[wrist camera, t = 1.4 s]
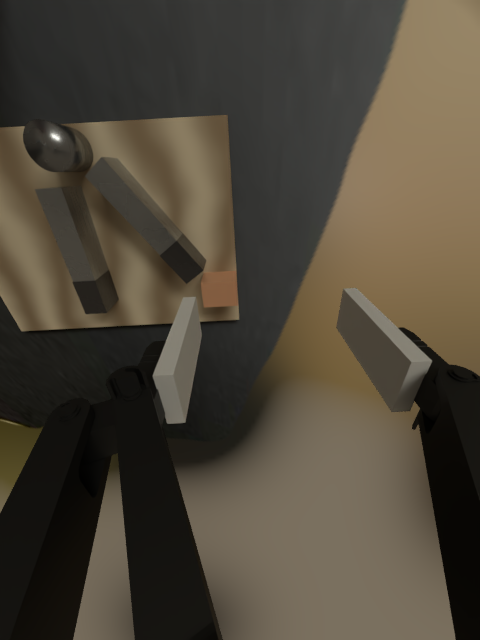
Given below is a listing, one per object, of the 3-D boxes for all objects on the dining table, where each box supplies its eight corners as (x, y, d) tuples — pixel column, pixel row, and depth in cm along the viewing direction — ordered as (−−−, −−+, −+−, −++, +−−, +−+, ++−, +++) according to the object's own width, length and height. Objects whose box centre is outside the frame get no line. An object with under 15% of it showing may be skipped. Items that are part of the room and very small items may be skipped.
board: (27, 326, 36) (21, 331, 34) (-83, 134, 24) (-97, 133, 23) (238, 315, 35) (239, 319, 34) (227, 117, 24) (227, 114, 23)
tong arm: (101, 175, 25) (83, 176, 22) (117, 157, 25) (101, 156, 21) (191, 272, 31) (186, 283, 28) (206, 260, 30) (203, 270, 27)
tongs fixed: (35, 128, 23) (1, 121, 20) (85, 125, 23) (59, 117, 20) (99, 300, 32) (83, 316, 29) (135, 298, 32) (124, 313, 29)
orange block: (206, 294, 32) (203, 307, 29) (203, 272, 31) (200, 283, 28) (237, 293, 32) (238, 305, 29) (236, 270, 31) (236, 281, 28)
